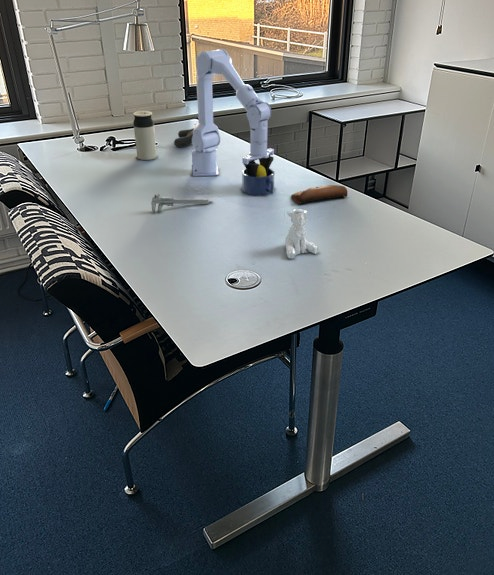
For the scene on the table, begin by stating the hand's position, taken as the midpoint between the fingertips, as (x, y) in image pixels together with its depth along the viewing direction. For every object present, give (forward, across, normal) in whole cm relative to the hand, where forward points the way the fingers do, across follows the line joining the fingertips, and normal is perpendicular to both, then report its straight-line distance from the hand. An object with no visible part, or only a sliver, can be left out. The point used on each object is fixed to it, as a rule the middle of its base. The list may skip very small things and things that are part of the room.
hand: (258, 179), depth 184 cm
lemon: (+3, 0, 0) cm, 3 cm away
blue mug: (+4, 0, -1) cm, 4 cm away
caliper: (+4, -29, +8) cm, 30 cm away
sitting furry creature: (+4, -28, -38) cm, 48 cm away
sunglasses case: (+4, +8, -20) cm, 22 cm away
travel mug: (+4, -3, +58) cm, 58 cm away
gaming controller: (+4, +23, +61) cm, 65 cm away
